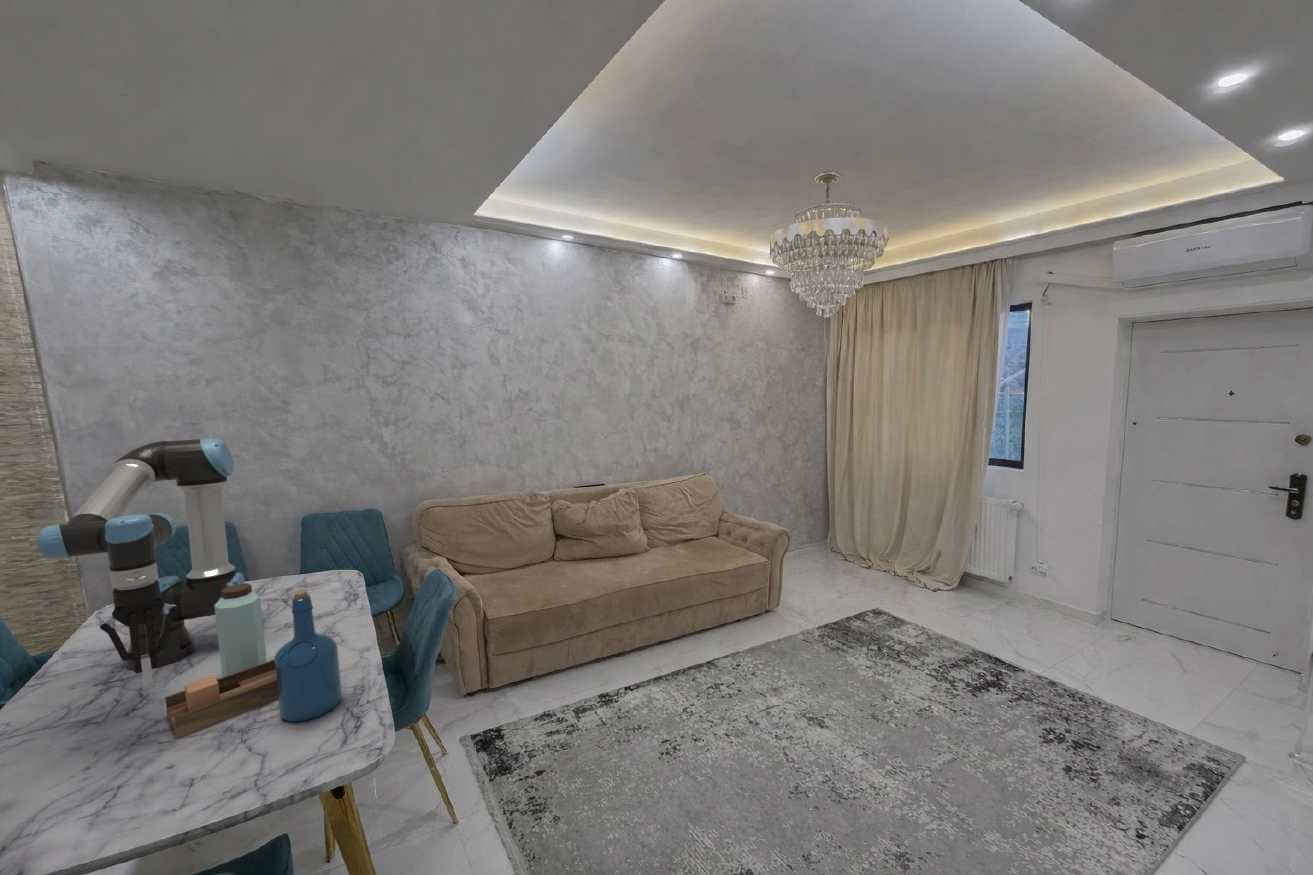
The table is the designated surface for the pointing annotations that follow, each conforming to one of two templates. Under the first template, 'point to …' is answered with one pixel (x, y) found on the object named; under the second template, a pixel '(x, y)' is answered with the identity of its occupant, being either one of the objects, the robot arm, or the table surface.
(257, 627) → the water bottle
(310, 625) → the wine bottle
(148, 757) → the table surface
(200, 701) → the block
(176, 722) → the trap box
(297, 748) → the table surface
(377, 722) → the table surface
